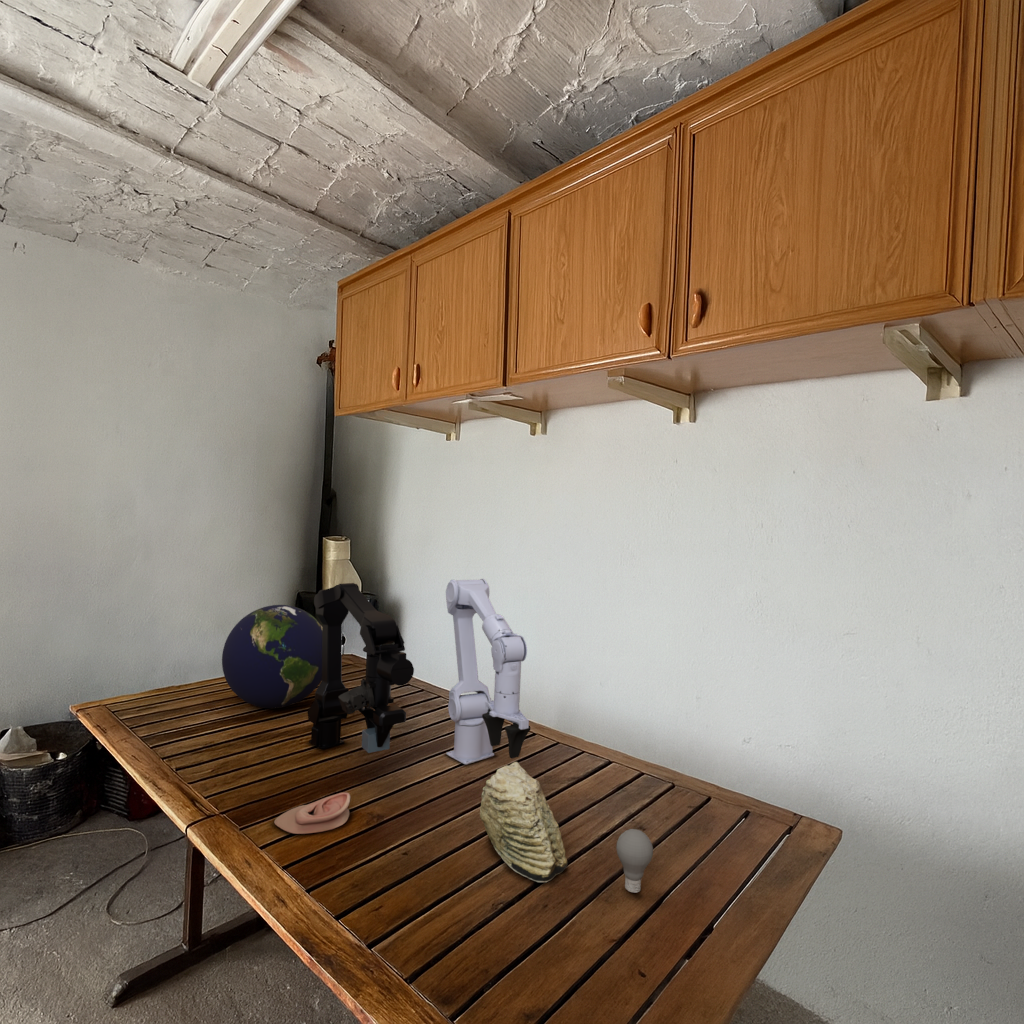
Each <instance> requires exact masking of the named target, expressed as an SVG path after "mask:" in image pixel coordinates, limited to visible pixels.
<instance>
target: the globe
mask: <svg viewBox="0 0 1024 1024" xmlns="http://www.w3.org/2000/svg"><path fill="white" fill-rule="evenodd" d="M221 666H222V672H223V676H224V678H225V679H224V680H225V681H226V683H227V685H228V687H229V688H230V689H231V691H232V692H233V693H234V694H235V695H236V696H237V697H238V698H239V699H240V700H242V701H244V702H245V703H247V704H248V705H251V706H254V707H258V708H262V709H282V708H285V707H289V706H293V705H295V704H298V703H299V702H301V701H303V700H304V699H306V698H307V697H309V696H310V695H311V694H312V693H313V692H314V691H316V690H317V688H318V687H319V685H320V683H321V682H322V623H321V622H320V621H318V619H317V618H315V616H314V615H312V614H311V613H310V612H308V611H305V610H304V609H302V608H299V607H297V606H292V605H290V604H289V605H288V604H272V605H266V606H263V607H260V608H257V609H255V610H253V611H251V612H250V613H248V614H246V615H245V616H243V618H241V619H240V620H239V621H238V622H237V623H235V625H234V627H232V629H231V631H230V632H229V634H228V635H227V637H226V640H225V642H224V645H223V649H222V654H221Z"/></svg>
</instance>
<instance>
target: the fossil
mask: <svg viewBox="0 0 1024 1024" xmlns="http://www.w3.org/2000/svg"><path fill="white" fill-rule="evenodd" d="M479 819H480V820H481V822H482V823H483V827H484V829H485V832H486V833H487V836H488V838H489V840H490V842H491V844H492V845H493V848H494V850H495V852H496V853H497V854H498V856H500V858H501V859H502V861H503V862H504V863H505V864H506V865H507V867H509V868H510V869H511V870H513V871H514V873H517V874H519V875H520V876H522V877H525V878H527V879H528V880H531V881H533V882H536V883H548V882H550V881H552V880H553V879H554V878H555V877H556V876H557V875H560V874H561V873H563V872H564V871H565V870H566V868H567V867H568V866H569V863H568V859H567V856H566V848H565V847H564V841H563V838H562V834H561V831H560V826H559V824H558V822H557V821H556V818H555V817H554V813H553V811H552V810H551V807H550V805H549V803H548V802H547V799H546V796H545V794H544V790H543V789H542V786H541V784H540V781H539V780H537V779H535V778H533V777H532V776H531V775H529V773H528V772H527V771H526V769H524V768H523V766H521V764H520V763H519V762H518V761H513V762H512V763H511V764H509V765H507V764H506V765H504V766H502V767H500V768H498V769H497V770H496V772H495V773H494V774H492V775H491V776H490V778H489V779H487V780H486V782H485V786H483V788H482V792H481V802H480V808H479Z"/></svg>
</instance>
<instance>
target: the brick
mask: <svg viewBox="0 0 1024 1024" xmlns="http://www.w3.org/2000/svg"><path fill="white" fill-rule="evenodd" d="M390 747H391V731H390V732H389V734H388V736H387V738H386V740H385V742H384V744H383V746H382V747H377V742H376V732H375V728H369V729H367V728H363V729H362V730H361V748H362V749H363V750H364V751H365V752H366V753H367V754H371V753H375V752H381V751H386V750H390Z"/></svg>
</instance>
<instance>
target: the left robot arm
mask: <svg viewBox="0 0 1024 1024" xmlns="http://www.w3.org/2000/svg"><path fill="white" fill-rule="evenodd" d="M313 605H314V608H315V615H316V616H317V618H318V619H319V622H320V623H321V626H322V681H321V682H320V684H319V685H318V686H317V688H316V689H315V692H314V701H313V702H312V704H311V705H310V707H309V708H308V709H307V720H308V722H310V723H312V727H311V730H310V731H311V732H310V733H311V735H310V739H309V740H308V743H309V744H310V745H313V746H314V747H316V748H318V749H320V750H327V749H329V748H333V747H336V746H340V745H343V744H344V743H345V741H344V740H343V739H341V737H342V735H341V733H342V720H346V719H347V718H348V715H352V714H354V713H355V712H357V711H358V712H359V713H360V714H361V715H362V716H363V717H364V722H365V724H366V725H365V726H366V729H369V728H375V732H376V742H377V747H382V746H383V744H384V742H385V740H386V738H387V736H388V734H389V732H390V733H391V731H392V729H393V727H394V726H395V725H396V724H402V723H406V721H407V712H406V711H405V710H404V709H403V708H402V707H400V706H399V705H397V704H394V703H395V701H394V700H395V698H394V697H392V696H391V695H392V686H395V685H396V686H400V687H402V686H405V685H407V684H408V683H410V681H411V680H412V678H413V676H414V673H415V668H414V664H413V663H412V662H411V660H409V659H408V658H407V653H406V652H404V651H405V650H406V647H405V645H404V644H405V641H404V639H403V636H402V634H401V631H400V628H399V625H398V624H397V621H396V620H395V619H394V618H392V617H391V616H390V615H389V614H387V613H384V612H380V611H378V610H377V609H376V607H374V606H373V604H372V603H371V602H370V601H369V600H368V598H367V596H365V595H364V593H363V592H362V591H361V590H360V586H359V585H358V583H354V582H347V583H346V582H345V583H343V582H342V583H338V584H335V585H334V586H332V587H329V588H325V589H319V590H318V591H317V593H316V594H315V595H314V597H313ZM349 613H350V614H351V616H352V617H353V618H354V619H355V621H356V622H357V623H358V624H359V626H360V630H359V635H360V637H361V639H362V641H363V643H364V645H365V646H364V647H363V648H362V651H363V652H364V653H366V655H365V657H366V658H365V677H362V679H361V680H360V685H359V686H356V687H354V688H351V689H349V688H348V687H346V686H345V684H344V683H343V679H342V678H343V676H342V675H343V674H342V673H343V672H342V671H343V670H342V669H343V668H342V667H343V665H342V664H343V624H344V622H345V620H346V618H347V617H348V615H349ZM389 704H392V705H389Z"/></svg>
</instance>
